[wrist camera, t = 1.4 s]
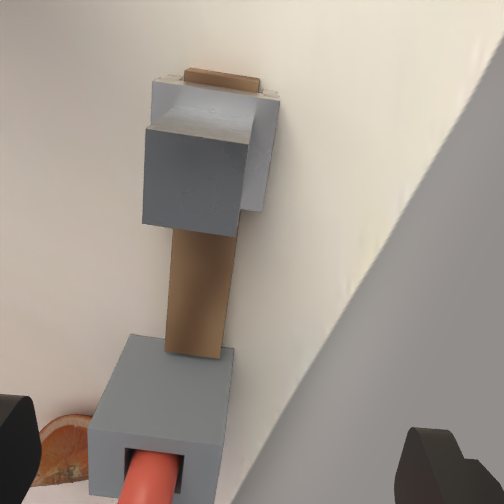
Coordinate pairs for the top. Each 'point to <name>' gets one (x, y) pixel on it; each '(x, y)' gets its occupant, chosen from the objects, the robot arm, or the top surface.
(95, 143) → the top surface
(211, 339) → the rail
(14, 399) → the robot arm
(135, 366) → the cabinet
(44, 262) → the top surface
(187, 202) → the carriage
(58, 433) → the fruit slice
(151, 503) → the button
